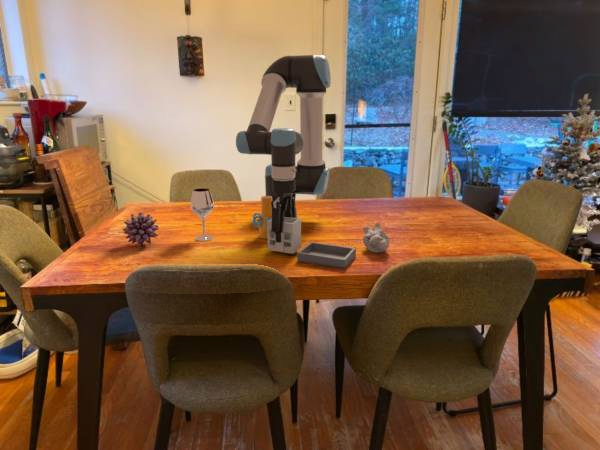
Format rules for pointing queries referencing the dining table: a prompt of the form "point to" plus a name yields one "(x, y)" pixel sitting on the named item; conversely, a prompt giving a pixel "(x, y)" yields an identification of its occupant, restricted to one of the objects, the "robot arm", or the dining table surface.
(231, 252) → the dining table surface
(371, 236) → the figurine
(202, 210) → the wineglass
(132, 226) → the purple spiky ball
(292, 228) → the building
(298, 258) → the tray
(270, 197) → the orange and blue piece
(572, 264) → the dining table surface
